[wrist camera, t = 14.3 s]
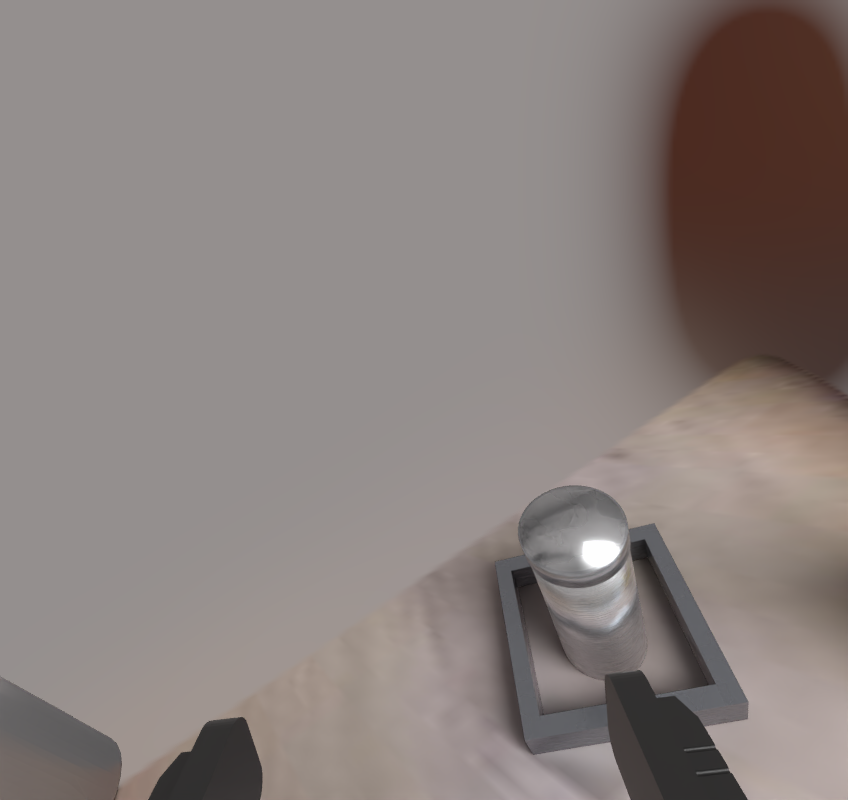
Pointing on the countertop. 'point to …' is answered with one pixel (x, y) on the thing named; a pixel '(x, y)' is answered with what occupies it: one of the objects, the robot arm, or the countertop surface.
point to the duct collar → (591, 723)
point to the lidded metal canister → (586, 577)
